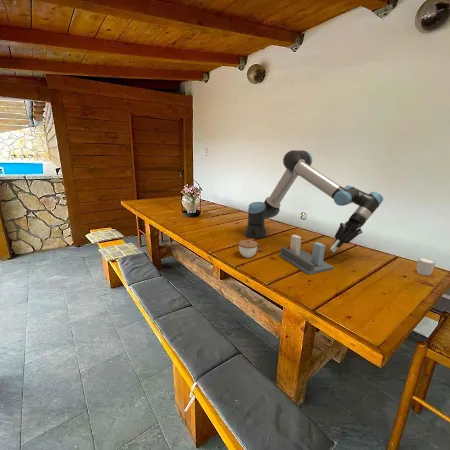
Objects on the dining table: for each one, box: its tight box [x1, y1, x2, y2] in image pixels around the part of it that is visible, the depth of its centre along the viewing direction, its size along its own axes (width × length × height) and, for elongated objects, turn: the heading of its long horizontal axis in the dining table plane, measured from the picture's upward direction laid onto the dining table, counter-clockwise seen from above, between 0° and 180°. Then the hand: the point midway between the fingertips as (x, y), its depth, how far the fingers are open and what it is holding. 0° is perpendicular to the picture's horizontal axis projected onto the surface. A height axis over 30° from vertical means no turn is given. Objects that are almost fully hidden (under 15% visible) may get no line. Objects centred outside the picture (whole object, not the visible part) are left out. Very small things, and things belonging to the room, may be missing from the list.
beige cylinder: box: [416, 257, 437, 277], centre depth 122 cm, size 7×7×7 cm
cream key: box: [289, 234, 302, 255], centre depth 137 cm, size 5×3×11 cm, turn 22°
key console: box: [278, 246, 334, 275], centre depth 132 cm, size 25×16×5 cm, turn 22°
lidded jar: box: [238, 239, 258, 259], centre depth 139 cm, size 11×11×9 cm
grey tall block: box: [311, 241, 326, 266], centre depth 126 cm, size 5×3×11 cm, turn 22°
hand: (331, 250), depth 128 cm, fingers closed
